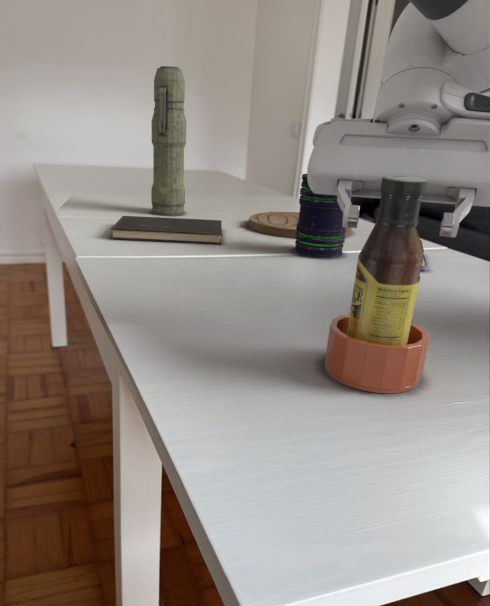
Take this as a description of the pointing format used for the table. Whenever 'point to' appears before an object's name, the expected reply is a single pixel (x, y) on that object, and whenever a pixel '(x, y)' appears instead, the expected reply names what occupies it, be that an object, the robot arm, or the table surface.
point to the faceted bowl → (375, 360)
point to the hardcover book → (167, 230)
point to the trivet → (278, 223)
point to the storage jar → (319, 225)
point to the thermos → (168, 142)
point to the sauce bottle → (389, 266)
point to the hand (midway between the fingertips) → (397, 229)
